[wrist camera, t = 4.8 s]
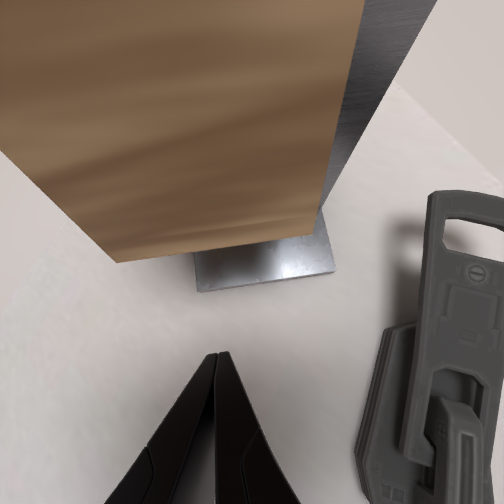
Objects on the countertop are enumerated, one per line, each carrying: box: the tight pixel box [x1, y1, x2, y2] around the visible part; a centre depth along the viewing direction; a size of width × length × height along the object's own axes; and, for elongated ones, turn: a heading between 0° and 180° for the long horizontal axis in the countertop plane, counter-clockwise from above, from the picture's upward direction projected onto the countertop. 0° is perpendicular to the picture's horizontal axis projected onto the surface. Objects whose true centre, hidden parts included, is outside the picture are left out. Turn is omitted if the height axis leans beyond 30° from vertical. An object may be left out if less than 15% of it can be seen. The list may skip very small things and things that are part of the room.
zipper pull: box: [354, 190, 504, 504], centre depth 19 cm, size 9×7×25 cm
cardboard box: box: [0, 0, 365, 263], centre depth 10 cm, size 10×10×12 cm
